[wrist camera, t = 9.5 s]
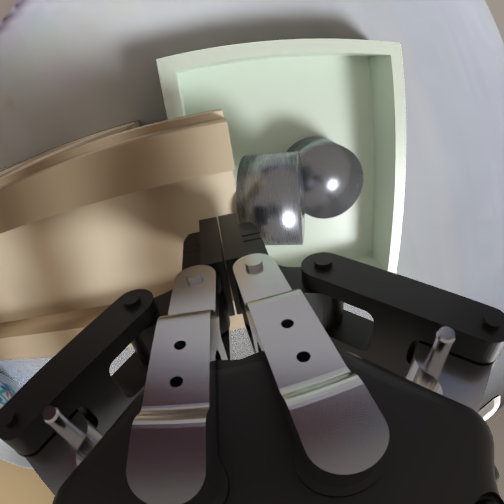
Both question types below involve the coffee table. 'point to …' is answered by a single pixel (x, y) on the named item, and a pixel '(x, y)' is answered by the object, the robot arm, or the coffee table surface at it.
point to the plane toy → (490, 408)
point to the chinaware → (3, 391)
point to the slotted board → (105, 224)
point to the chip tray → (310, 125)
